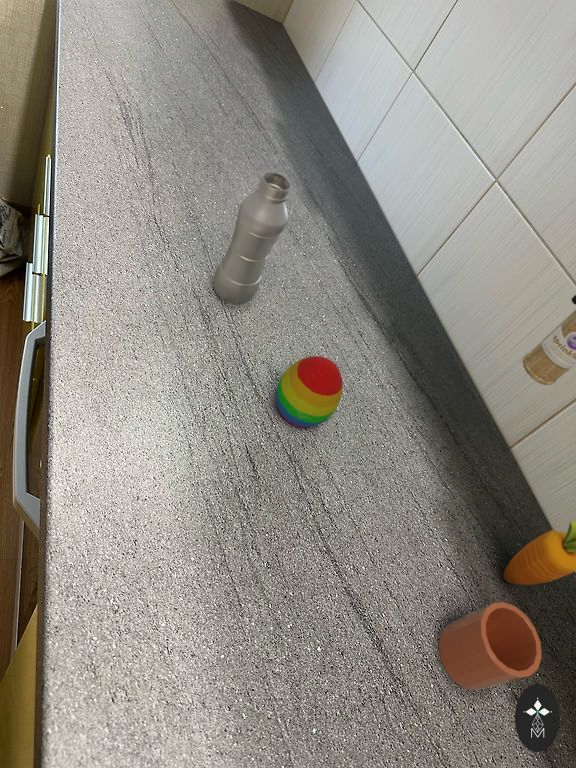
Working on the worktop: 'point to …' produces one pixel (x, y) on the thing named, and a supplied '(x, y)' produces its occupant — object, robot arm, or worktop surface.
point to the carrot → (544, 558)
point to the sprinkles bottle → (553, 353)
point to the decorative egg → (309, 391)
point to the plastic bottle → (253, 239)
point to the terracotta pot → (490, 647)
